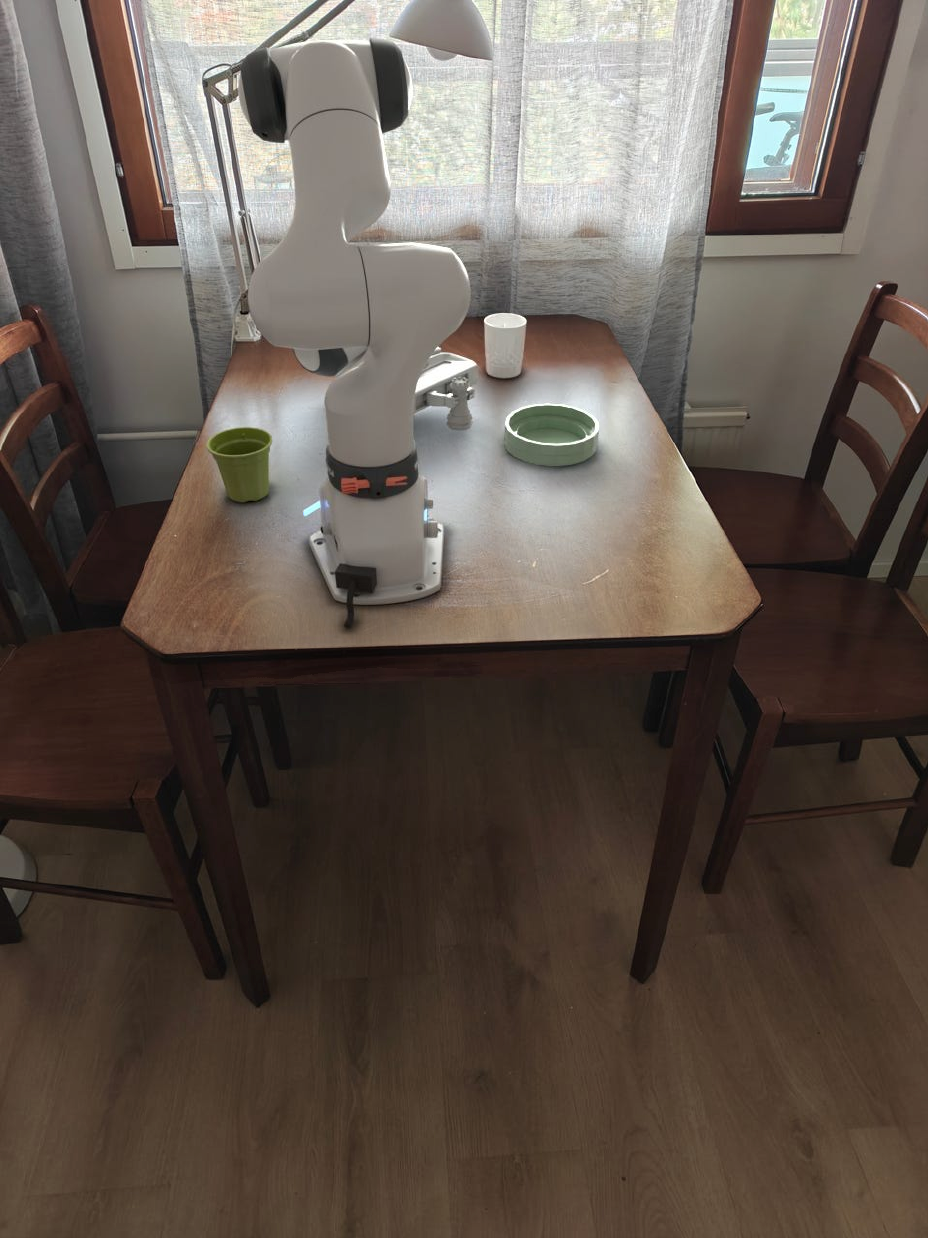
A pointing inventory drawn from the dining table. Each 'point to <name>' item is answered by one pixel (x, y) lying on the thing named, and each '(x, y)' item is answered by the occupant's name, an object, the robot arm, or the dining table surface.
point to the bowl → (551, 434)
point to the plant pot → (243, 461)
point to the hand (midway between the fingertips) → (464, 398)
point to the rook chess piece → (460, 406)
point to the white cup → (504, 344)
